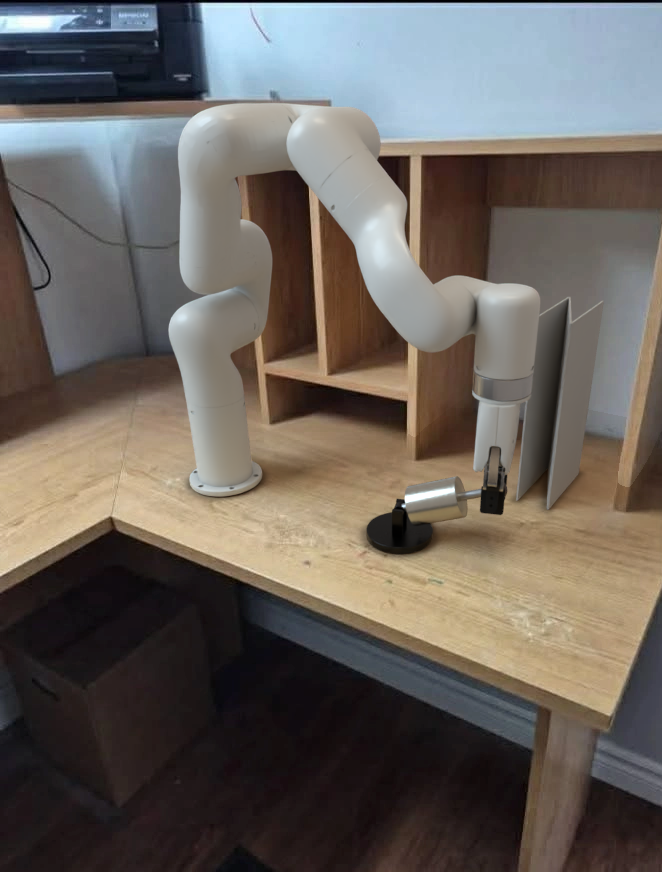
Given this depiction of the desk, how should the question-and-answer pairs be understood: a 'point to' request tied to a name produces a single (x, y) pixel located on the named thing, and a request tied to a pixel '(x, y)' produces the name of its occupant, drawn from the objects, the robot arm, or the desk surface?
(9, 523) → the desk surface
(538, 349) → the brochure
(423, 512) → the knobbed metal cylinder
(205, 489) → the robot arm
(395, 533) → the holder base
